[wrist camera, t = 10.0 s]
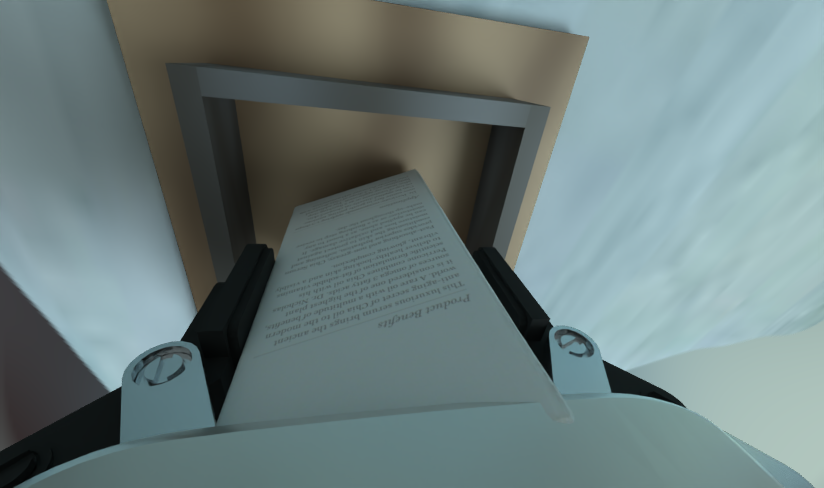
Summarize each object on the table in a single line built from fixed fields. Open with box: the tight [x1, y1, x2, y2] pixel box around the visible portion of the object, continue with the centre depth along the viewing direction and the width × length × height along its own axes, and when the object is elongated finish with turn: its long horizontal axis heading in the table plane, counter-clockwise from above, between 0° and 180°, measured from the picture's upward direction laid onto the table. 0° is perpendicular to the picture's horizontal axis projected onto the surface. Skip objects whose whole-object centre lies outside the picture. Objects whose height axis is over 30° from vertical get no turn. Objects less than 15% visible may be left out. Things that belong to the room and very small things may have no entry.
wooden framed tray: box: [107, 0, 589, 312], centre depth 15 cm, size 18×18×4 cm
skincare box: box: [217, 169, 574, 426], centre depth 10 cm, size 6×4×12 cm
